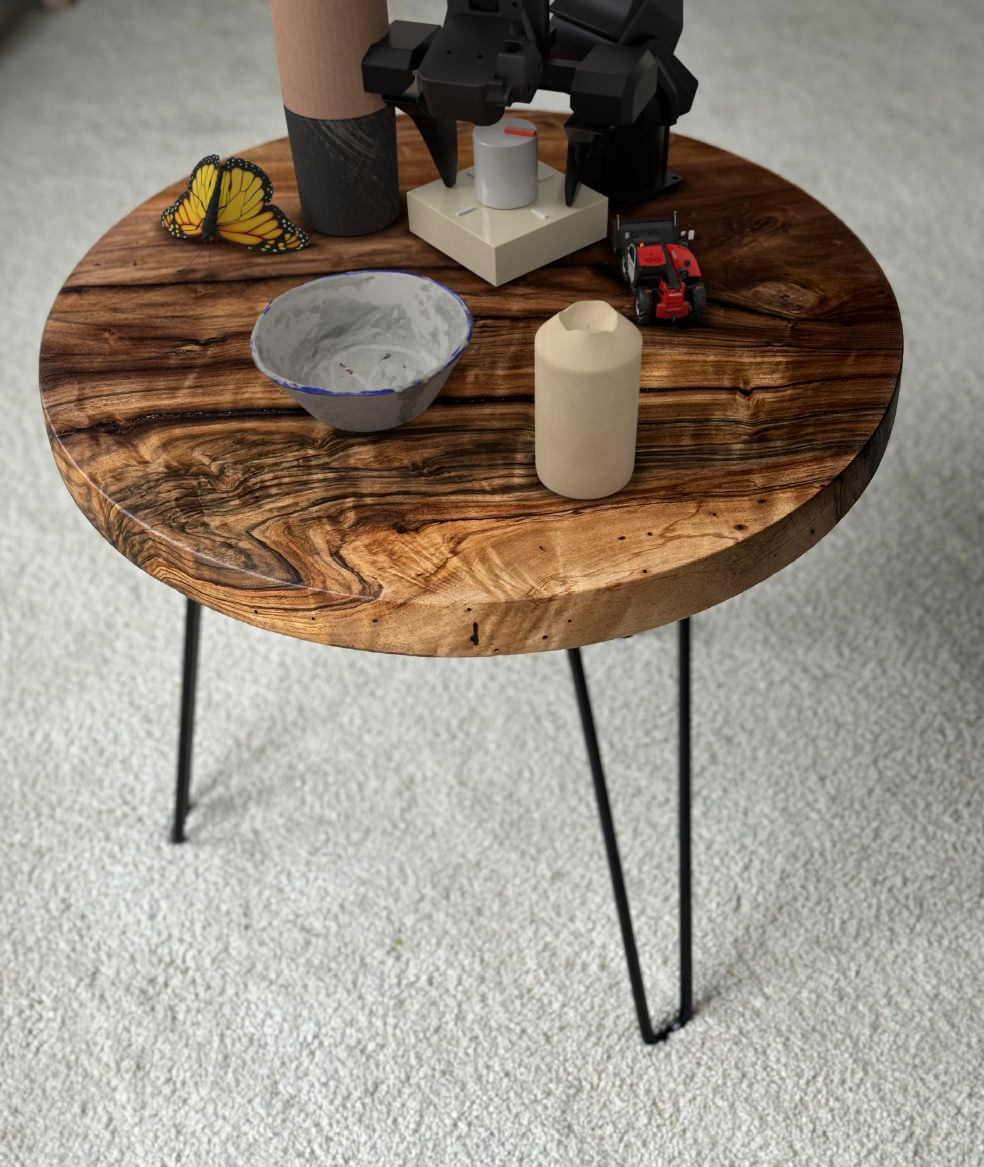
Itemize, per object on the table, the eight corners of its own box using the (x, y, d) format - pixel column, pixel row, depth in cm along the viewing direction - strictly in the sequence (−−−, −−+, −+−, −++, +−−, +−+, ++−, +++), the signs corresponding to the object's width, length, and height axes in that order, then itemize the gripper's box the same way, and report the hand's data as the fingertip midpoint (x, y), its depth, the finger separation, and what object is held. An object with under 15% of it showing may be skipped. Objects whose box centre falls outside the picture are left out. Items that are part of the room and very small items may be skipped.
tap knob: (465, 203, 85) (461, 136, 81) (488, 175, 87) (486, 108, 84) (524, 214, 83) (524, 146, 80) (547, 184, 86) (547, 117, 83)
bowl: (477, 328, 79) (474, 261, 76) (475, 456, 70) (472, 387, 67) (276, 333, 79) (264, 267, 76) (249, 461, 70) (234, 393, 67)
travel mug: (414, 192, 92) (394, -103, 78) (388, 242, 87) (362, -63, 73) (316, 184, 94) (279, -107, 80) (285, 234, 88) (239, -69, 74)
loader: (608, 244, 86) (611, 180, 83) (673, 239, 86) (678, 175, 83) (639, 340, 78) (643, 274, 74) (711, 335, 78) (718, 268, 75)
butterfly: (266, 285, 82) (295, 305, 87) (295, 156, 82) (322, 184, 87) (110, 258, 85) (146, 279, 90) (138, 133, 85) (173, 161, 90)
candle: (627, 506, 67) (637, 351, 60) (527, 495, 68) (525, 340, 61) (639, 443, 71) (650, 290, 63) (544, 433, 71) (544, 281, 64)
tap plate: (517, 186, 93) (516, 145, 90) (607, 237, 87) (608, 195, 85) (409, 230, 88) (405, 189, 86) (496, 287, 83) (494, 245, 80)
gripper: (302, -15, 72) (336, 229, 83) (607, 18, 66) (600, 275, 77) (384, -76, 79) (406, 156, 90) (666, -50, 74) (652, 194, 85)
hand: (509, 194), depth 85 cm, fingers open, 9 cm apart
